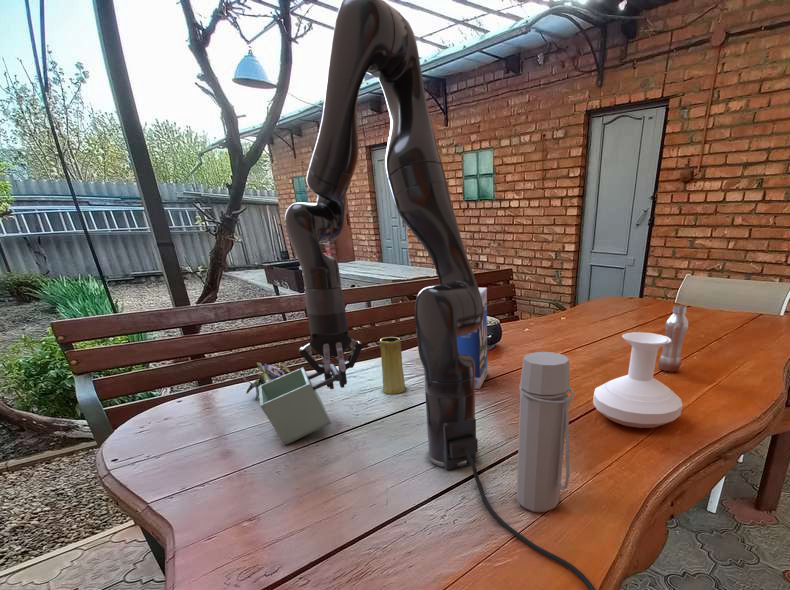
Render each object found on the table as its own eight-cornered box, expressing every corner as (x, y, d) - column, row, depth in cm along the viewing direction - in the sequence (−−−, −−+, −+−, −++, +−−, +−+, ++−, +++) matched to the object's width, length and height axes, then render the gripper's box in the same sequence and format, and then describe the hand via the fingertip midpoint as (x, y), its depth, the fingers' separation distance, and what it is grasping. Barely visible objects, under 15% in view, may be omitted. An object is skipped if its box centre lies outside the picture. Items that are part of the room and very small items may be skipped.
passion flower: (291, 413, 115) (299, 385, 107) (246, 416, 108) (251, 387, 101) (284, 380, 120) (290, 352, 112) (240, 381, 113) (244, 351, 106)
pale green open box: (359, 410, 93) (339, 370, 88) (285, 445, 88) (260, 405, 83) (348, 392, 102) (329, 355, 97) (281, 422, 98) (258, 386, 92)
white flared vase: (605, 394, 114) (613, 323, 107) (684, 410, 105) (700, 334, 97) (579, 422, 98) (587, 341, 91) (670, 444, 89) (688, 356, 81)
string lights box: (480, 389, 117) (479, 294, 107) (453, 388, 118) (450, 293, 108) (487, 373, 129) (487, 287, 119) (463, 372, 130) (461, 286, 120)
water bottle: (505, 501, 71) (508, 358, 61) (535, 482, 76) (543, 347, 66) (549, 528, 65) (560, 373, 55) (578, 505, 70) (594, 360, 60)
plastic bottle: (652, 368, 134) (663, 305, 126) (668, 366, 137) (679, 303, 129) (668, 375, 129) (680, 309, 121) (684, 372, 132) (697, 307, 124)
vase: (408, 386, 119) (404, 336, 113) (402, 394, 114) (397, 342, 108) (387, 385, 120) (382, 336, 114) (380, 393, 114) (374, 342, 108)
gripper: (291, 315, 82) (306, 398, 89) (363, 309, 88) (371, 387, 95) (288, 308, 88) (302, 386, 95) (355, 303, 94) (364, 377, 101)
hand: (337, 387), depth 95 cm, fingers closed on pale green open box
